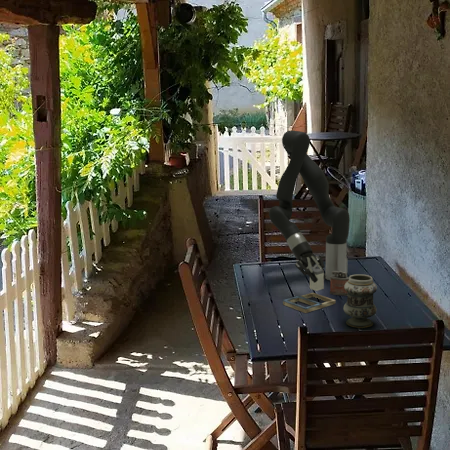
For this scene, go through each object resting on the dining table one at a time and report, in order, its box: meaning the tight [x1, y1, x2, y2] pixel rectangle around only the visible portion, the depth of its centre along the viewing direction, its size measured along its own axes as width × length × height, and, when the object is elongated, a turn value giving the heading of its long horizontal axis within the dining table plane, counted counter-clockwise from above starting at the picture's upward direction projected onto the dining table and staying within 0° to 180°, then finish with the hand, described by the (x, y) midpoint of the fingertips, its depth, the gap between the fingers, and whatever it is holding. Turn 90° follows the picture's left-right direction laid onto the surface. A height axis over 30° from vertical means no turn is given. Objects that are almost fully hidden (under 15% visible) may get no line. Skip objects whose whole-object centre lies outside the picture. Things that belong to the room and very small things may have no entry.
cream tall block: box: [309, 267, 325, 292], centre depth 257 cm, size 4×4×8 cm
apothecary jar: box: [342, 273, 378, 329], centre depth 233 cm, size 12×12×18 cm
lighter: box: [329, 271, 350, 296], centre depth 268 cm, size 8×3×10 cm, turn 71°
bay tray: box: [282, 292, 336, 314], centre depth 256 cm, size 17×13×2 cm
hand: (320, 280), depth 256 cm, fingers closed on cream tall block, 4 cm apart
